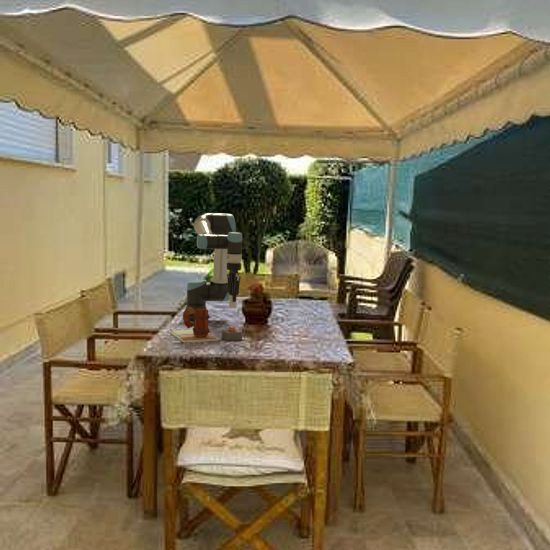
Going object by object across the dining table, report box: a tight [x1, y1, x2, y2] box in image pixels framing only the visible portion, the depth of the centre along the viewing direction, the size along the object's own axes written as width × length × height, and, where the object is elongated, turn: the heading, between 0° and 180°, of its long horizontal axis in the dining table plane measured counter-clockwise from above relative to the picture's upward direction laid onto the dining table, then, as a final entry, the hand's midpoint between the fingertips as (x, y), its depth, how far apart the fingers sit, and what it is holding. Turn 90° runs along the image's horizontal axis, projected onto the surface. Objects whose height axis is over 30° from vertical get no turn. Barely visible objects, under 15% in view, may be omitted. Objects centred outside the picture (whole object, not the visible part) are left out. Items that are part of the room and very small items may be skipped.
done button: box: [227, 326, 236, 332], centre depth 331 cm, size 4×4×4 cm
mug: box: [182, 307, 211, 337], centre depth 327 cm, size 15×8×15 cm, turn 75°
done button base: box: [221, 328, 243, 341], centre depth 332 cm, size 8×8×4 cm
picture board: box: [168, 329, 219, 343], centre depth 333 cm, size 26×18×1 cm
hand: (232, 307), depth 330 cm, fingers closed
